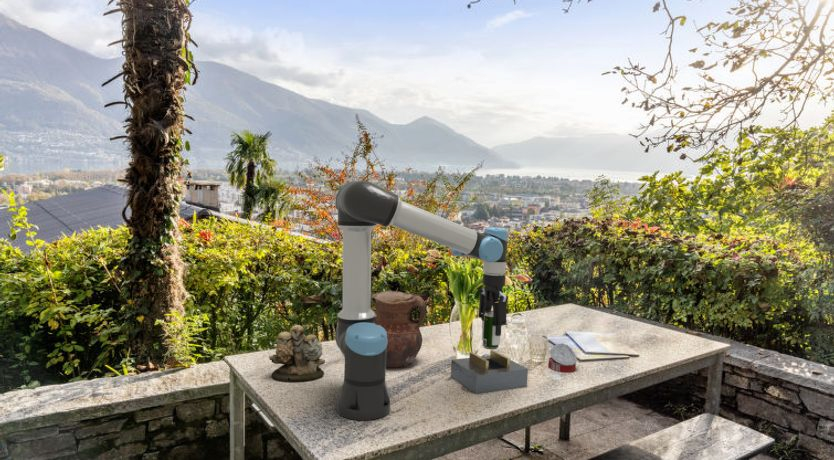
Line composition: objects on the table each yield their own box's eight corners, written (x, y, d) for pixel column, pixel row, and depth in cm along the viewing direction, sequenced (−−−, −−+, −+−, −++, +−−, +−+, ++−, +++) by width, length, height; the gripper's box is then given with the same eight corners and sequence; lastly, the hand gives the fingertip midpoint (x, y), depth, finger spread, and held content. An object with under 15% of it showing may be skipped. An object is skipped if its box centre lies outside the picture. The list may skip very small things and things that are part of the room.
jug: (369, 373, 170) (372, 301, 168) (356, 354, 190) (359, 290, 188) (429, 369, 177) (433, 300, 175) (411, 351, 197) (414, 289, 195)
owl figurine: (269, 384, 155) (270, 331, 155) (267, 372, 167) (269, 322, 166) (326, 380, 161) (328, 328, 160) (321, 368, 172) (323, 320, 171)
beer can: (489, 350, 163) (491, 314, 162) (479, 346, 167) (480, 311, 167) (501, 348, 166) (503, 313, 165) (491, 344, 170) (492, 309, 170)
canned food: (571, 379, 187) (586, 358, 185) (563, 383, 179) (579, 362, 177) (547, 359, 193) (561, 339, 191) (538, 362, 185) (553, 341, 183)
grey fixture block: (475, 394, 156) (477, 365, 155) (448, 375, 171) (449, 349, 171) (534, 385, 166) (535, 359, 165) (503, 368, 181) (504, 344, 181)
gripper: (520, 277, 158) (516, 349, 160) (488, 269, 175) (484, 334, 176) (501, 278, 155) (497, 351, 157) (470, 270, 172) (466, 336, 173)
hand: (490, 342), depth 166 cm, fingers closed on beer can, 5 cm apart
